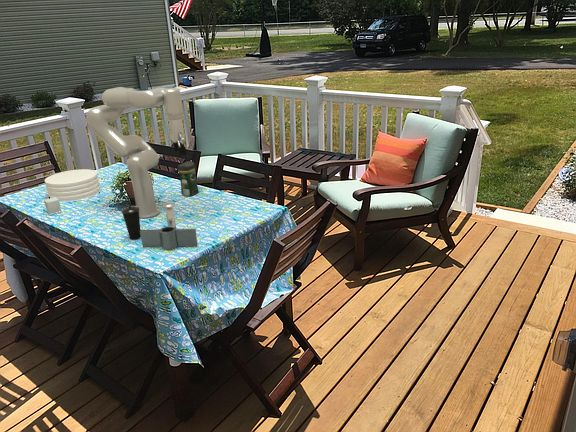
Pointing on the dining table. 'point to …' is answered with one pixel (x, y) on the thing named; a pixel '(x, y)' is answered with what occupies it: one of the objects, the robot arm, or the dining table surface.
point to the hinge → (169, 238)
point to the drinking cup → (132, 221)
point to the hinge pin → (170, 213)
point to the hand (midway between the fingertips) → (180, 153)
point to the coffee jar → (188, 178)
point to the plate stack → (73, 185)
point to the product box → (52, 205)
